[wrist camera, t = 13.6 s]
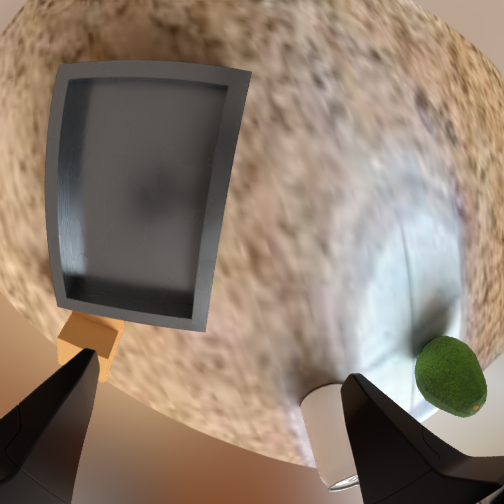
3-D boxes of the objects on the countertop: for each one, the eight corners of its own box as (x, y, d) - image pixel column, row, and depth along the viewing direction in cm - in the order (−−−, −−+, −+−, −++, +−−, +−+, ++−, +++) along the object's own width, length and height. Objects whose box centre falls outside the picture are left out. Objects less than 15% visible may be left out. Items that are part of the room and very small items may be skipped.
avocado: (457, 315, 27) (512, 376, 16) (439, 358, 31) (481, 417, 20) (410, 332, 27) (466, 409, 16) (395, 376, 30) (435, 446, 19)
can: (316, 379, 28) (350, 473, 17) (359, 382, 29) (397, 462, 18) (290, 411, 30) (311, 496, 19) (332, 412, 32) (359, 487, 21)
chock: (122, 333, 22) (104, 383, 17) (82, 317, 21) (58, 363, 16) (135, 280, 20) (113, 329, 15) (90, 262, 19) (57, 305, 14)
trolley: (109, 71, 14) (62, 51, 8) (242, 82, 15) (255, 57, 9) (95, 265, 19) (59, 316, 13) (206, 281, 21) (204, 341, 15)
